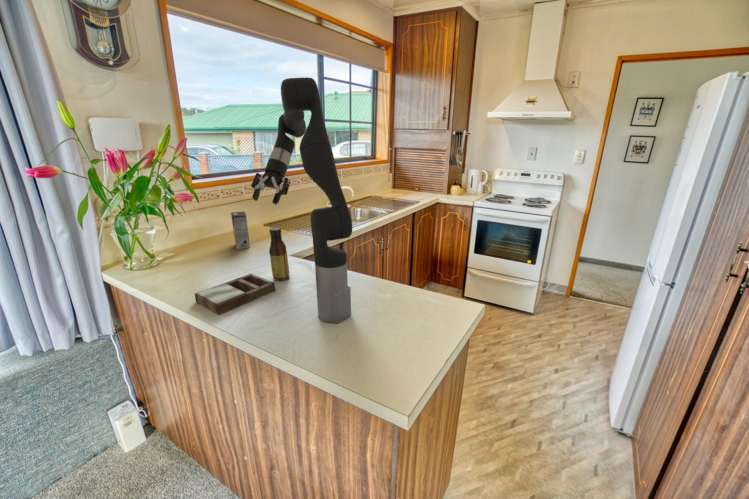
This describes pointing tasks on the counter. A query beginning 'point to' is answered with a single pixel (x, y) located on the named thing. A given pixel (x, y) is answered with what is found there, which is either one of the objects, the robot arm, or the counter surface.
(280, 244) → the sauce bottle
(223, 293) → the board
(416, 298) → the counter surface
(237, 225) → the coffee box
